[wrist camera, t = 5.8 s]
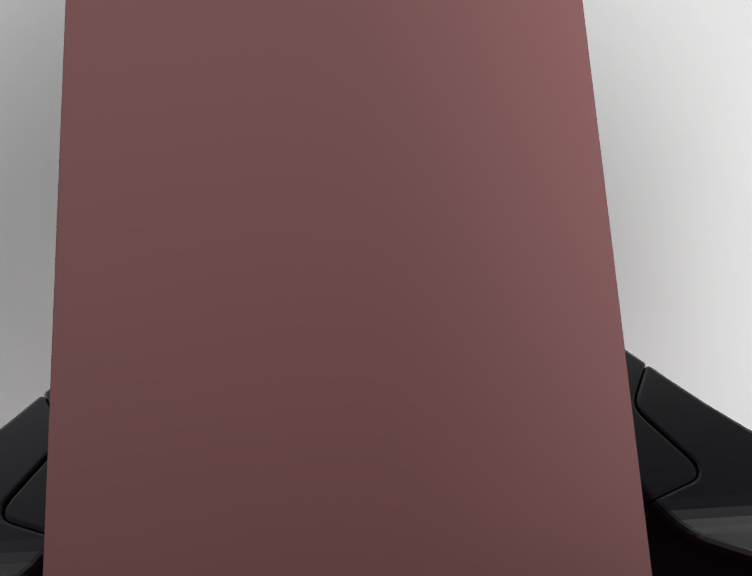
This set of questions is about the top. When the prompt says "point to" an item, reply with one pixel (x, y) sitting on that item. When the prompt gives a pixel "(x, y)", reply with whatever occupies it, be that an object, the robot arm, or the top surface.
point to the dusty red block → (336, 295)
